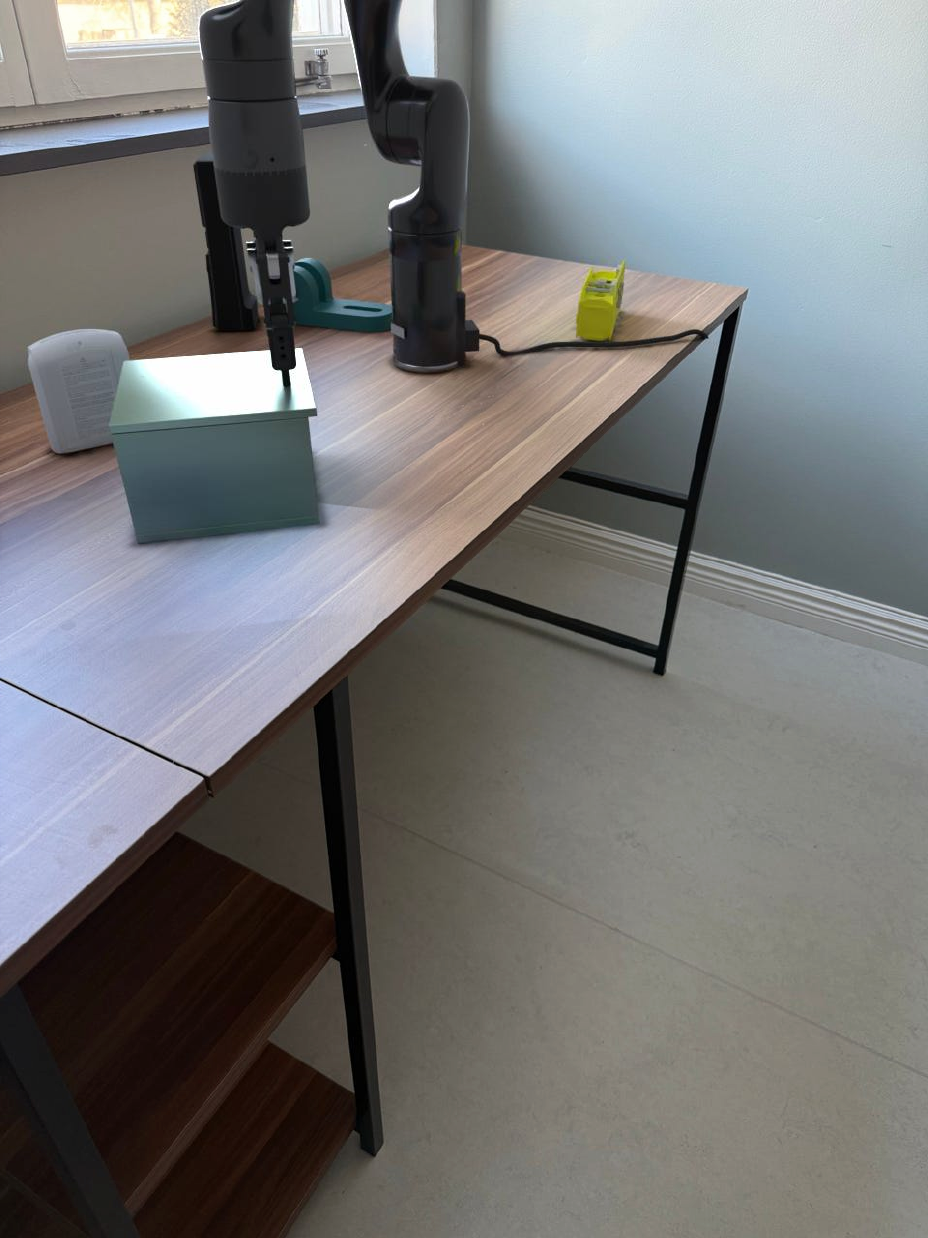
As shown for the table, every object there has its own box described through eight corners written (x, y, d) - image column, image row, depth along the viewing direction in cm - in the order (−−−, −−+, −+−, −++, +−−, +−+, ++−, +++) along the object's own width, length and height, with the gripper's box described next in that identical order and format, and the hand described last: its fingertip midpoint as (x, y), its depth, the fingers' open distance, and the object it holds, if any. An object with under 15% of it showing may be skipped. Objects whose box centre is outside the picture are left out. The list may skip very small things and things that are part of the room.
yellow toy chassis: (613, 346, 126) (619, 285, 121) (573, 342, 127) (578, 282, 122) (623, 312, 139) (629, 256, 134) (586, 309, 140) (591, 253, 135)
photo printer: (139, 424, 104) (115, 317, 96) (151, 437, 101) (127, 328, 93) (47, 445, 99) (15, 334, 92) (57, 459, 96) (24, 346, 89)
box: (305, 453, 98) (295, 356, 91) (319, 524, 85) (308, 417, 79) (147, 468, 94) (125, 368, 88) (137, 543, 82) (110, 434, 76)
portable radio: (220, 315, 136) (191, 131, 122) (259, 314, 137) (235, 131, 122) (212, 332, 130) (181, 140, 115) (254, 331, 130) (228, 140, 116)
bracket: (274, 321, 134) (267, 267, 129) (294, 308, 139) (288, 255, 135) (384, 334, 130) (381, 278, 125) (401, 320, 135) (399, 266, 130)
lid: (303, 355, 91) (297, 300, 88) (317, 416, 79) (311, 354, 76) (124, 368, 88) (112, 311, 85) (110, 434, 76) (95, 370, 72)
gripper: (312, 173, 68) (329, 377, 78) (298, 145, 80) (315, 326, 89) (213, 176, 67) (242, 383, 76) (213, 147, 78) (239, 331, 88)
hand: (281, 352), depth 83 cm, fingers open, 8 cm apart
